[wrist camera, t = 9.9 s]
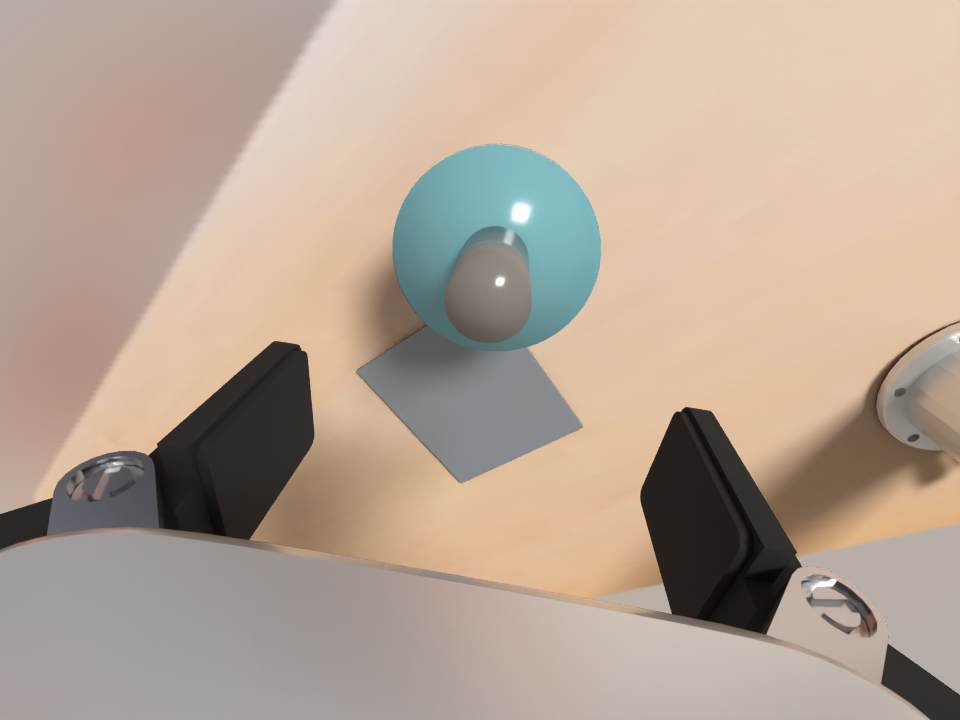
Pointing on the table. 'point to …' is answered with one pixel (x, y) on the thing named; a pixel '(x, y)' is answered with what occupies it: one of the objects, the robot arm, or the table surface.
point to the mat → (470, 401)
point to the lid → (496, 247)
